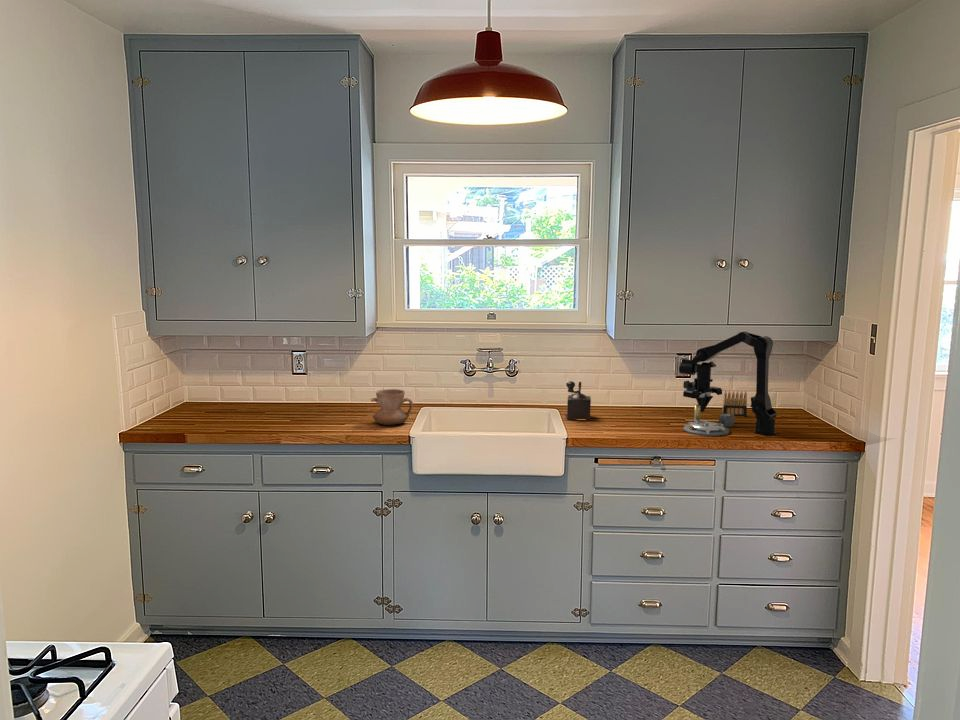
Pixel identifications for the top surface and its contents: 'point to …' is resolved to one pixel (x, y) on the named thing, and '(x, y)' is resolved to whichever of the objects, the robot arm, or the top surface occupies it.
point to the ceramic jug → (391, 407)
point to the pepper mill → (577, 403)
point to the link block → (726, 420)
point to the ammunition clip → (735, 404)
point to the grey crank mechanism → (704, 423)
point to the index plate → (703, 433)
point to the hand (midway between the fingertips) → (701, 411)
